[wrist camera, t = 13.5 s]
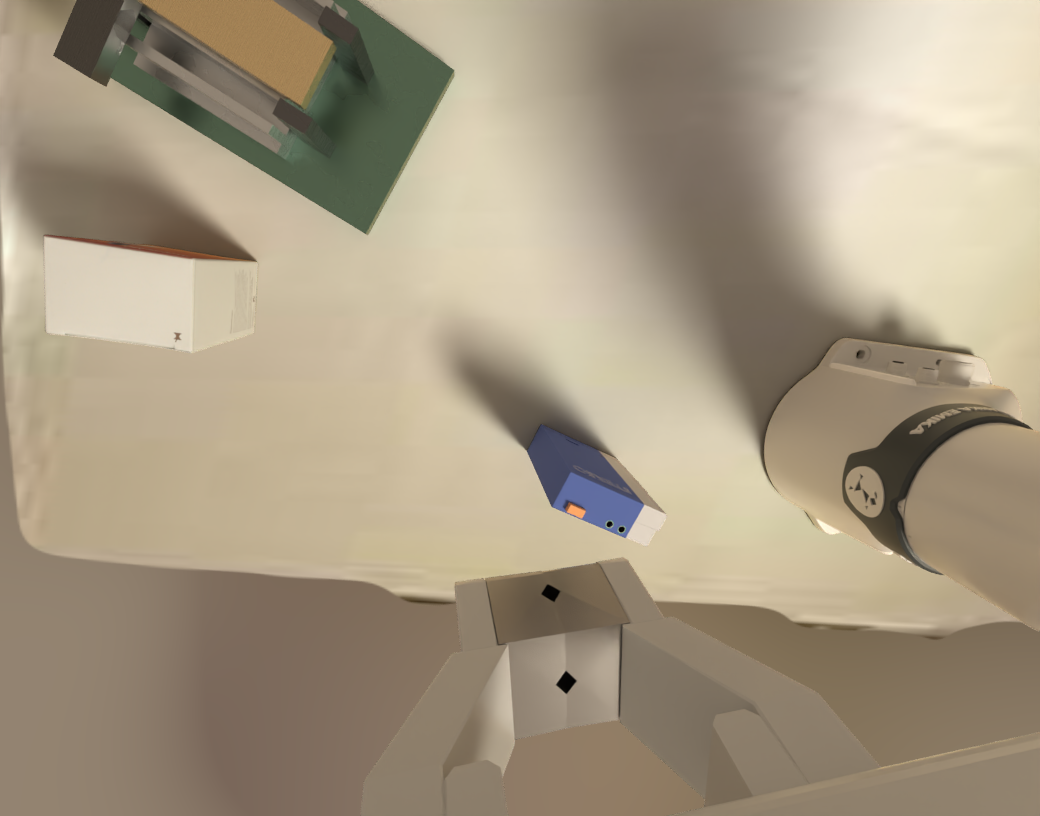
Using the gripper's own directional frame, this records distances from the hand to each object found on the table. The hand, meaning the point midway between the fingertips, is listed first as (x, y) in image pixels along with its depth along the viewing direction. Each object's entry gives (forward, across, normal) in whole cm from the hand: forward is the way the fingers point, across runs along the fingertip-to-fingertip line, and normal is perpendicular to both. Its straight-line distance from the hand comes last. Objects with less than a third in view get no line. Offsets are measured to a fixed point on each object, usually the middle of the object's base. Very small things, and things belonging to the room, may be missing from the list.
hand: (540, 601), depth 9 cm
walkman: (+35, -10, +14) cm, 39 cm away
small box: (+37, +18, -2) cm, 41 cm away
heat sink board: (+38, +9, -16) cm, 42 cm away
